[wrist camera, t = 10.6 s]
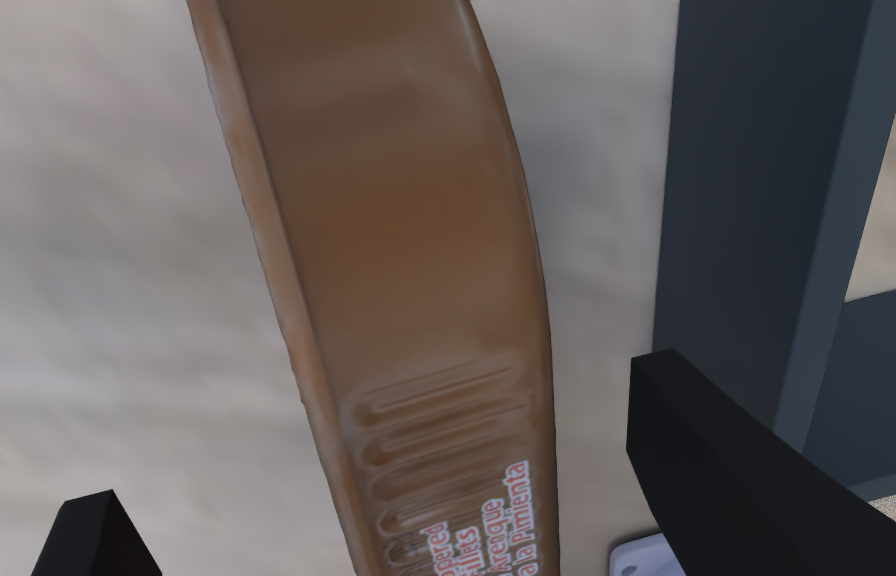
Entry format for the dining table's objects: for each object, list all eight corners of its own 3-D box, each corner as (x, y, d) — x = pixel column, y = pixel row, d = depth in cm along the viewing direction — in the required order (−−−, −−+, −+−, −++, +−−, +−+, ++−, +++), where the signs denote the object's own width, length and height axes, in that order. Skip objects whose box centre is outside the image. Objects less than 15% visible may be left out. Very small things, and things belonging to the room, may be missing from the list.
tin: (137, -201, 12) (92, 71, 5) (366, -237, 12) (578, -25, 6) (338, 477, 21) (405, 854, 15) (459, 445, 22) (575, 800, 16)
